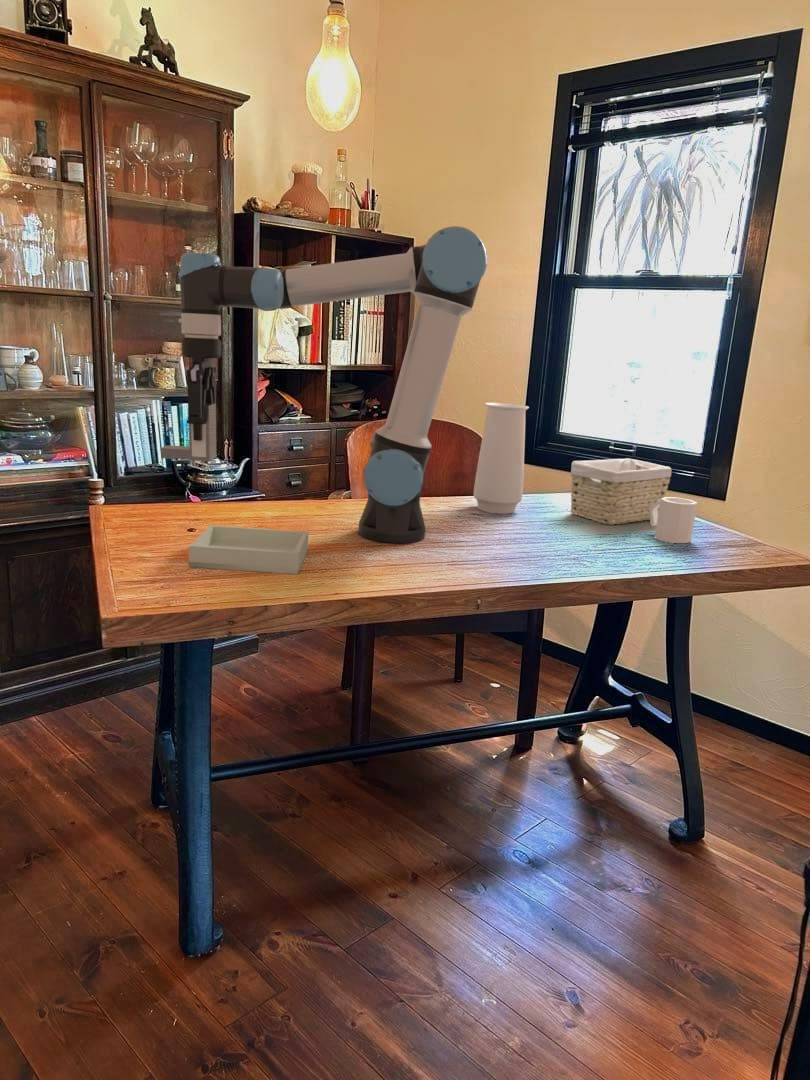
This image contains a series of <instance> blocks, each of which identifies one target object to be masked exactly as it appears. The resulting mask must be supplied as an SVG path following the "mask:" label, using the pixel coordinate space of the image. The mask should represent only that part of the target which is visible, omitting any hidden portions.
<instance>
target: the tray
mask: <svg viewBox="0 0 810 1080" xmlns="http://www.w3.org/2000/svg"><path fill="white" fill-rule="evenodd" d="M308 551H309V531H307V530H294V529H291V530H290V529H276V528H262V527H260V528H259V527H248V526H247V527H245V526H235V525H220V524H219V525H218V524H209V525H208V526H207V527H206V528H205V529H204V530H203V531H202V532H201V533H200V534H199V535H198V536H197V537H196V538H195V539H194V540H193V541H192V542H191V543H190V544H189V546H188V567H189V568H198V569H199V568H201V569H202V568H203V569H215V570H230V571H242V572H243V571H245V572H259V573H260V572H261V573H274V574H275V573H277V574H292V575H293V574H294V575H298V574H299V572H300V569H301V567H302V565H303V563H304V561H305V558H306V556H307V553H308Z"/></svg>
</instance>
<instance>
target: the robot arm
mask: <svg viewBox="0 0 810 1080" xmlns="http://www.w3.org/2000/svg"><path fill="white" fill-rule="evenodd" d="M427 240H428V241H427V242H426V243H425V244H423V245H419V246H417V245H416V246H411V247H410V248H409V249H408V251H407V252H406V253H398V254H391V255H383V256H377V257H369V258H361V259H355V260H354V259H352V260H348V261H347V260H346V261H339V262H338V261H337V262H331V263H325V264H316V265H309V266H308V265H307V266H301V267H295V268H287V269H277V268H271V267H270V268H269V267H264V266H260V267H257V266H256V267H253V266H251V267H250V266H228V265H223V264H222V263H221V258H220V257H219V255H217V254H214V253H207V252H206V253H203V252H185V253H183V254H182V255H181V256H180V264H179V266H180V267H179V276H178V277H179V279H178V280H179V288H180V289H179V291H180V292H179V293H180V314H181V315H180V317H181V318H178V323H179V324H181V325H180V327H181V334H182V335H184V337H182V338H181V355H182V357H184V358H191V365H190V366H191V367H189V369H187V370H186V377H187V378H186V379H187V419H186V424H188V425H189V424H191V431H192V456H194V457H207V454H206V424H204V422H205V420H204V419H205V403H216V404H217V394H216V393H217V392H216V391H217V390H216V388H217V387H216V373H217V369H216V367H213V365H212V364H213V363H212V359H220V358H221V357H222V341H221V339H220V338H219V337H220V336H221V335H222V318H221V317H222V316H221V307H224V308H226V307H227V308H229V307H231V308H244V309H257V310H261V311H264V312H272V311H276V310H278V309H285V308H286V309H287V308H292V307H299V306H307V305H314V304H323V303H332V302H339V301H346V300H353V299H355V300H356V299H361V298H368V297H369V298H370V297H378V296H386V295H393V294H400V293H401V294H402V293H409V292H410V293H412V295H414V297H415V298H416V301H417V303H418V304H417V305H418V306H417V308H416V313H415V317H414V320H413V324H412V326H411V327H412V328H411V332H410V334H409V339H408V341H407V345H406V350H405V352H404V353H405V354H404V357H403V359H402V365H401V368H400V372H399V375H398V378H397V382H396V385H395V388H394V394H393V395H392V396H393V397H392V400H391V404H390V407H389V411H388V415H387V418H386V422H385V424H384V425H383V426H381V427H379V428H378V429H376V430H375V432H374V433H373V434H372V436H371V441H370V444H369V445H370V452H369V455H368V459H367V462H366V463H365V465H364V468H363V472H362V477H363V478H362V479H363V483H364V486H365V489H366V491H367V492H368V493H367V494H368V495H367V501H366V504H365V505H364V509H363V511H362V514H361V517H360V519H359V521H358V529H357V530H358V532H357V533H358V534H359V536H361V537H362V538H365V539H368V540H371V541H375V542H381V543H389V544H390V543H392V544H403V543H404V544H409V543H415V542H419V541H420V542H421V541H422V540H424V539H425V537H426V525H425V521H424V516H423V512H422V511H423V510H422V507H421V503H420V502H421V490H422V486H423V484H424V474H425V470H426V467H427V463H428V460H429V458H430V457H429V456H430V452H431V450H432V444H431V442H430V439H429V438H428V435H429V434H428V433H429V429H430V427H431V423H432V419H433V415H434V413H435V409H436V406H437V402H438V398H439V395H440V392H441V388H442V385H443V381H444V378H445V376H446V371H447V368H448V365H449V361H450V357H451V355H452V354H451V353H452V352H453V351H452V350H453V347H454V343H455V342H456V341H455V340H456V337H457V334H458V330H459V327H460V324H461V323H460V322H461V321H462V317H464V315H466V314H469V312H471V311H472V309H473V306H474V303H475V300H476V297H477V293H478V289H479V287H480V283H481V281H482V279H483V277H484V275H485V272H486V270H487V266H488V265H487V264H488V256H487V254H488V253H487V250H486V247H485V244H484V243H483V241H482V240H481V238H480V237H479V236H478V235H477V234H476V233H475V232H474V231H472V230H471V229H469V228H468V227H467V228H466V227H464V226H458V225H457V226H455V225H453V226H452V225H451V226H446V227H444V228H442V229H439V230H438V231H436V232H434V233H433V234H432V235H431V236H430V238H429V239H427ZM217 413H218V412H217V411H216V414H217ZM218 420H219V415H216V421H218Z"/></svg>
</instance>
